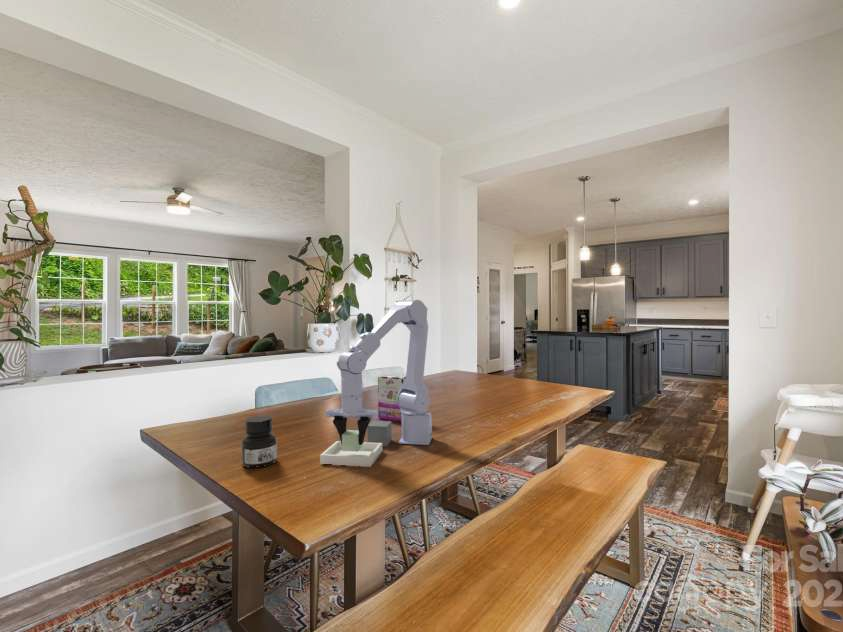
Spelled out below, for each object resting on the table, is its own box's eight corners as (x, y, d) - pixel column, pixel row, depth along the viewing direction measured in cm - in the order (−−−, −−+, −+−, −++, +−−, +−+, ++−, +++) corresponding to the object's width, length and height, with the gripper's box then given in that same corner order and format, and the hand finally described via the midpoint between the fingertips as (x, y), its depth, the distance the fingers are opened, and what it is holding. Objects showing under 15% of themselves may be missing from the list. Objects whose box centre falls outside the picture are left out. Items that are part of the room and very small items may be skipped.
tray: (382, 451, 120) (382, 443, 120) (370, 467, 108) (370, 457, 108) (336, 449, 123) (336, 440, 123) (320, 464, 111) (320, 455, 111)
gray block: (391, 440, 131) (391, 421, 131) (386, 446, 125) (386, 426, 125) (373, 439, 132) (373, 420, 132) (367, 445, 126) (367, 425, 126)
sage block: (362, 446, 117) (362, 430, 117) (357, 451, 113) (357, 435, 113) (347, 445, 118) (347, 429, 118) (342, 450, 114) (341, 434, 114)
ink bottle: (244, 471, 106) (243, 425, 106) (236, 461, 113) (236, 418, 113) (282, 463, 112) (282, 419, 112) (273, 454, 119) (272, 412, 119)
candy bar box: (410, 419, 155) (409, 376, 155) (403, 422, 151) (402, 378, 151) (385, 416, 160) (384, 374, 160) (377, 419, 156) (377, 376, 156)
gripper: (321, 397, 113) (322, 446, 113) (372, 398, 110) (373, 449, 110) (331, 392, 119) (331, 438, 120) (380, 393, 117) (380, 441, 117)
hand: (352, 443), depth 115 cm, fingers closed on sage block, 4 cm apart
